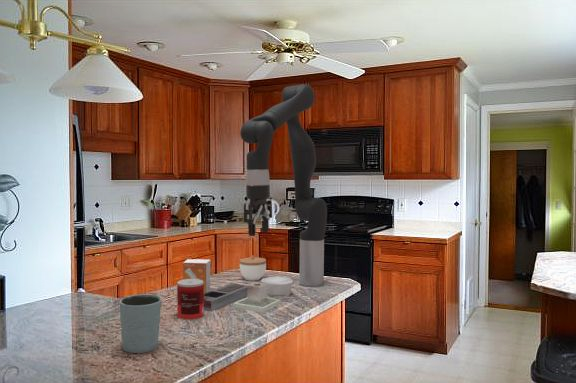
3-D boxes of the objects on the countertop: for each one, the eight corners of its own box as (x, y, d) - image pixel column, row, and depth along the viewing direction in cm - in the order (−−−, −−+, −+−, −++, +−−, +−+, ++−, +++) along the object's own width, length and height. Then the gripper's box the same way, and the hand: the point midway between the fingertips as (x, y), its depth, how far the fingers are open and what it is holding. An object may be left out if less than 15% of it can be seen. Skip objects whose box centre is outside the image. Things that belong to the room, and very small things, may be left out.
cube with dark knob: (255, 304, 159) (255, 282, 158) (267, 305, 157) (267, 283, 156) (247, 307, 155) (247, 285, 154) (259, 309, 152) (259, 287, 152)
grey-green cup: (138, 337, 129) (137, 292, 128) (170, 343, 125) (170, 296, 124) (110, 350, 120) (110, 302, 119) (144, 357, 116) (143, 307, 115)
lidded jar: (233, 279, 196) (233, 256, 195) (252, 274, 204) (252, 252, 203) (253, 283, 189) (253, 259, 188) (271, 278, 197) (271, 255, 197)
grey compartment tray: (230, 294, 172) (230, 283, 172) (250, 297, 169) (250, 285, 168) (190, 310, 153) (190, 297, 153) (211, 314, 149) (211, 301, 149)
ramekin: (292, 299, 167) (292, 284, 167) (259, 299, 167) (259, 283, 167) (292, 291, 178) (293, 276, 178) (262, 290, 179) (262, 276, 178)
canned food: (194, 312, 151) (193, 277, 150) (209, 318, 145) (209, 281, 145) (172, 318, 146) (171, 281, 145) (187, 324, 140) (186, 286, 139)
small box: (182, 301, 164) (182, 262, 163) (187, 296, 170) (187, 258, 170) (206, 301, 163) (206, 262, 163) (210, 296, 170) (210, 259, 169)
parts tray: (251, 302, 163) (251, 295, 163) (280, 306, 158) (280, 299, 158) (232, 310, 153) (232, 303, 153) (263, 315, 148) (263, 308, 148)
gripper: (258, 182, 166) (259, 230, 167) (235, 184, 153) (237, 236, 155) (278, 182, 163) (279, 231, 164) (256, 185, 150) (257, 237, 151)
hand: (258, 233), depth 159 cm, fingers open, 8 cm apart
